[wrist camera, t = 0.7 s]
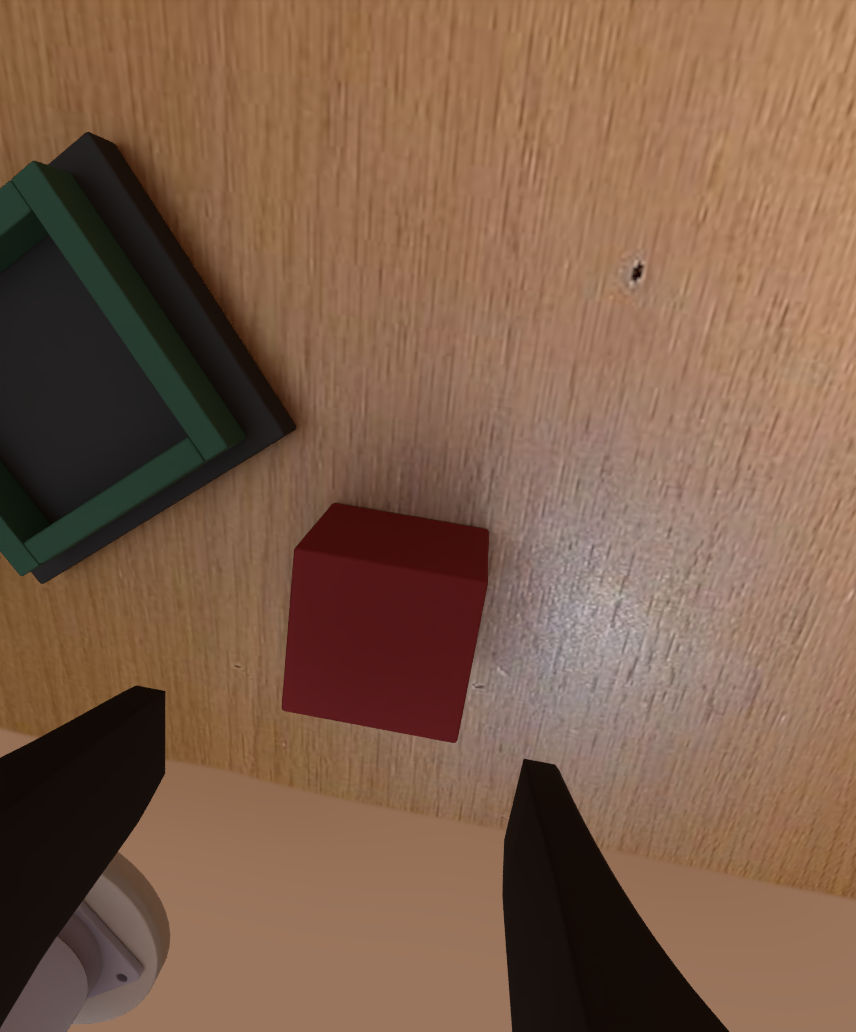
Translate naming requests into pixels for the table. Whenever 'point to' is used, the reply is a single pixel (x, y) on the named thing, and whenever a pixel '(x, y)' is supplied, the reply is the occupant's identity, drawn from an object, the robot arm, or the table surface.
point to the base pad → (109, 364)
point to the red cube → (385, 621)
